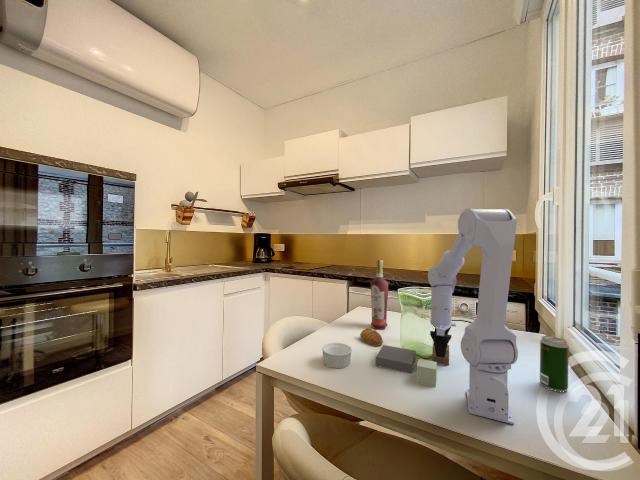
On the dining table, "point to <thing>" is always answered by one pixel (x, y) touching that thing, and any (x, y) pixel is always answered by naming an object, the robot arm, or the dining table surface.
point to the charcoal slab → (396, 358)
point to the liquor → (379, 298)
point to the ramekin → (336, 355)
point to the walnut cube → (439, 359)
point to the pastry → (371, 337)
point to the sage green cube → (427, 372)
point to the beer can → (554, 363)
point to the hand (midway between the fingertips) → (440, 351)
